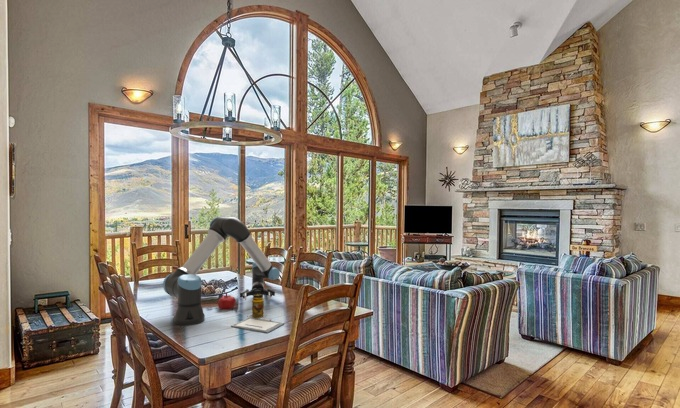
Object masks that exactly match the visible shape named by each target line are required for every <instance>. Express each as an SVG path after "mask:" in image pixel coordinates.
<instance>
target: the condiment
mask: <svg viewBox="0 0 680 408" xmlns="http://www.w3.org/2000/svg"><path fill="white" fill-rule="evenodd" d="M251 302H252V304H251V305H252V307H251V308H252V309H251V310H252V312H251V314H249V315H247V318H256V319H260V318H266V316H268V315H266V314H264V304H265V301H264V295H262V294H255V295H253V296H252V301H251Z"/></svg>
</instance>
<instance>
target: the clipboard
mask: <svg viewBox="0 0 680 408" xmlns="http://www.w3.org/2000/svg"><path fill="white" fill-rule="evenodd" d="M284 325H285V322H280V321H279V322H278V321H275V320H274V321H273V320H272V319H271V318H266V317H262V318H259V319H256V318H252V317H247V318H244V319H243V320H240V321H239V322H236V323H233V324H231V325H230V327H231V328H235V329H240V330H241V329H242V330H248V331H254V332H257V333H264V334H269V333H271V332H272V331H275V330H276V329H279V328H280V327H282V326H284Z"/></svg>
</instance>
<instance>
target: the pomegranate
mask: <svg viewBox="0 0 680 408" xmlns="http://www.w3.org/2000/svg"><path fill="white" fill-rule="evenodd" d="M236 301H237V300H236V298H235V297H234V296H232V295H231V294H228V292H225V294H221V297H220V298H219V300H218V301H217V305H218V309H220V310H231V309H234V308H235V306H236Z"/></svg>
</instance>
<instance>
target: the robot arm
mask: <svg viewBox="0 0 680 408" xmlns="http://www.w3.org/2000/svg"><path fill="white" fill-rule="evenodd" d="M228 237H229V238H232V239H233V240H234V241H235V242H236V243H238V244H240V245H241V247H242V248H243V249H244V251H245V252H246V253H247V254H248V256H249V257H250V258H251V259H252V261H253V262H252V267H251V272H252V273H251V277H252V278H251V289H250V290H249V289H248V288H247V289H246V288H245V289H246V290H244V291H241V292H240V293H239V297H240V298H242V299H244V301H247V297H251V296H252V297H253V295H255V294H262V295H263V296H268V300H271V298H272V297H273V296H274V297H275V296H276V291H274V290H273V289H270V288H266V289H265V279H267V280H277V279H278V278H279V277H280V269H279V268H277V267H275V266H273V264H272V263H271V262H270V260H269V259H268V257H267V255H265V253H264V252H263V250H262V249H261V248H260V247H259V245H258V243H256V241H255V240H254V239H253V237H252V234H251V231H250V230H249V228H248V227H247V226H246V225H245V224H244V223H243V221H242V220H241V219H239V218H237V217H235V216H224V215H222V216H221V215H220V216H215V217H214V218H213V219H211V220H210V223H209V228H208V229H207V235H206V236H205V237H204V239H203V240H202V241H201V242H200V244H199V245H198V246H197V247H196V249H195V250H194V251H193V252H192V253H191V255H190V256H189V258H187V260H186V261H185V263H184V264H183V265H182V266H181V267H177V268H176V269H175V271H174V272H172V273H170V274H168V275H166V276H165V278H164V280H163V281H162V282H163V283H162V288H163V291H164V293H166V294H167V295H169V296H171V297H174V298H177V308H176V310H175V314H174V317H173V323H174V324H176V325H178V326H179V325H180V326H190V325H191V326H192V325H196V324H199V323H202V322H204V321H205V320H206V319H205V317H206V315H205V313H204V309H203V306H202V284H203V283H202V278H201V276H199V275H197V273H198V272H199V271H200V270H201V268H202V267H203V265H204V264H206V262H207V260H208V259H209V258H210V256H211V255H212V254H213V253H214V251H215V250H216V248H217V247H219V245H220V244H221V243H224V242H226V240H227V238H228Z"/></svg>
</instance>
